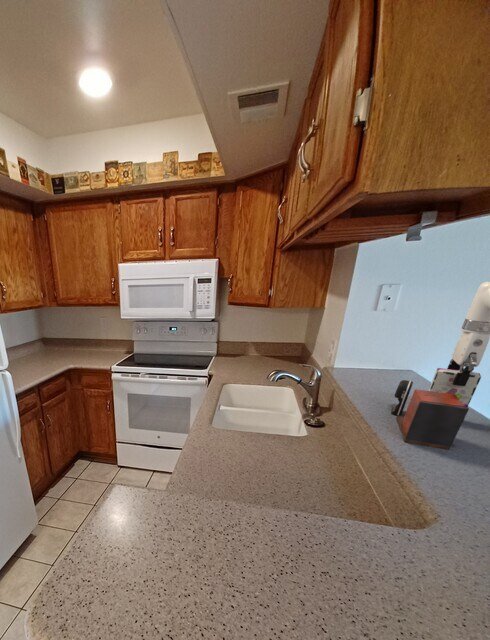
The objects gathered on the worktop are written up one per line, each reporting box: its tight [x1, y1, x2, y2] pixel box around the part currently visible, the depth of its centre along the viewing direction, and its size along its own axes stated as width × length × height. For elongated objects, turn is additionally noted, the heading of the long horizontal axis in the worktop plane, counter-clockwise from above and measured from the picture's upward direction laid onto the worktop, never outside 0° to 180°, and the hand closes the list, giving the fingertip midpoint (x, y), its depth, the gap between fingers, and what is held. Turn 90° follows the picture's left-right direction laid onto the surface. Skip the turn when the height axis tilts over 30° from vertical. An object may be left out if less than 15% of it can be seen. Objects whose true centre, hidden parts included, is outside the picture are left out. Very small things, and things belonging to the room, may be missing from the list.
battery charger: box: [390, 379, 414, 417], centre depth 114 cm, size 7×4×11 cm, turn 142°
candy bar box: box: [428, 367, 482, 408], centre depth 109 cm, size 11×5×16 cm, turn 55°
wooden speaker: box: [395, 388, 470, 451], centre depth 100 cm, size 11×18×13 cm, turn 155°
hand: (454, 380), depth 107 cm, fingers open, 9 cm apart
